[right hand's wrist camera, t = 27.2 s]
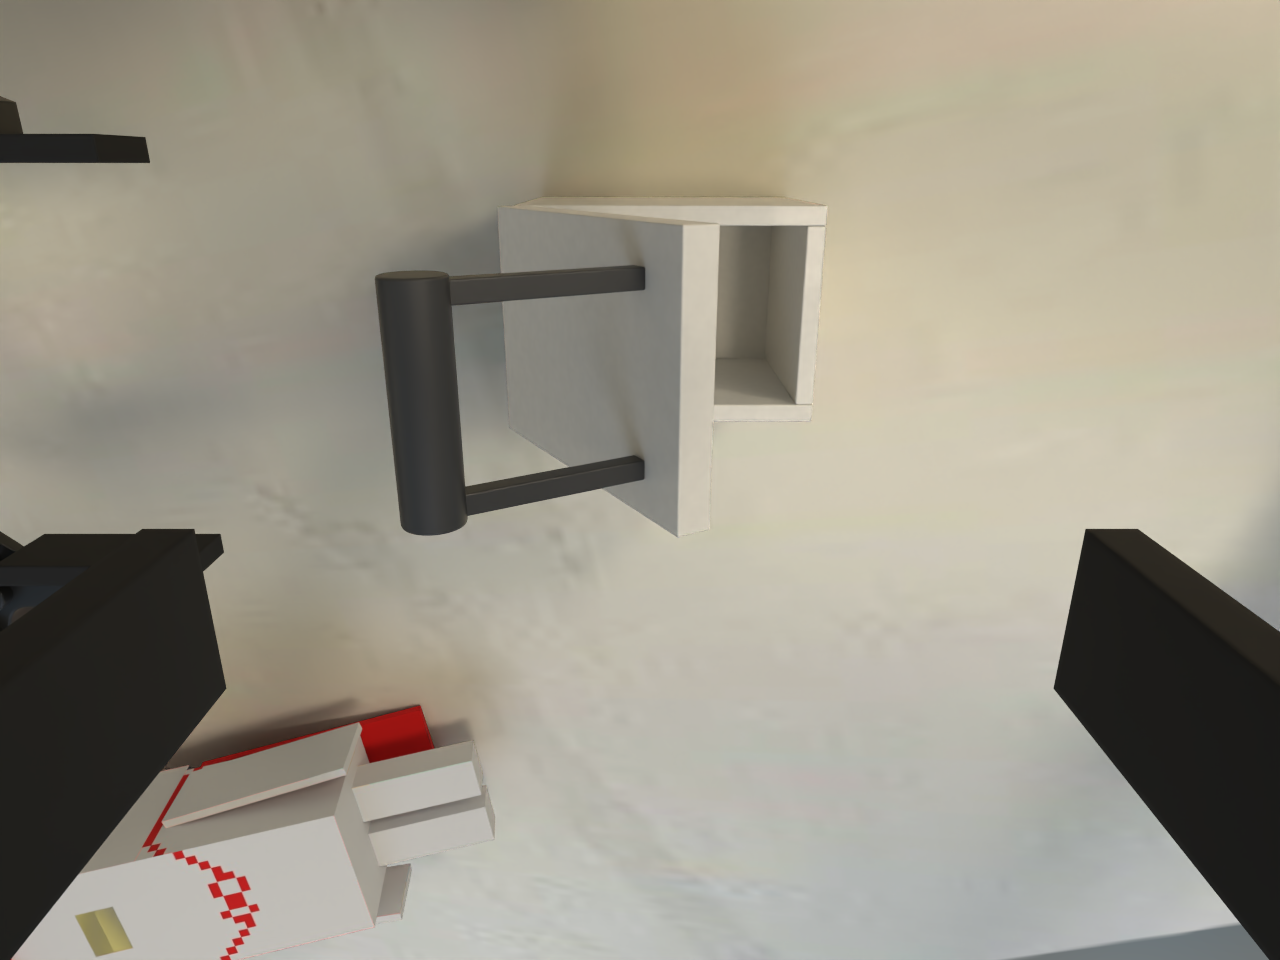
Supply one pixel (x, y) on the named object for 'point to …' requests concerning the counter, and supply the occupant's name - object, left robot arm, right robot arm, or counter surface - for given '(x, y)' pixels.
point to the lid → (565, 367)
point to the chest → (751, 295)
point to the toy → (271, 847)
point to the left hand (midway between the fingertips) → (168, 371)
